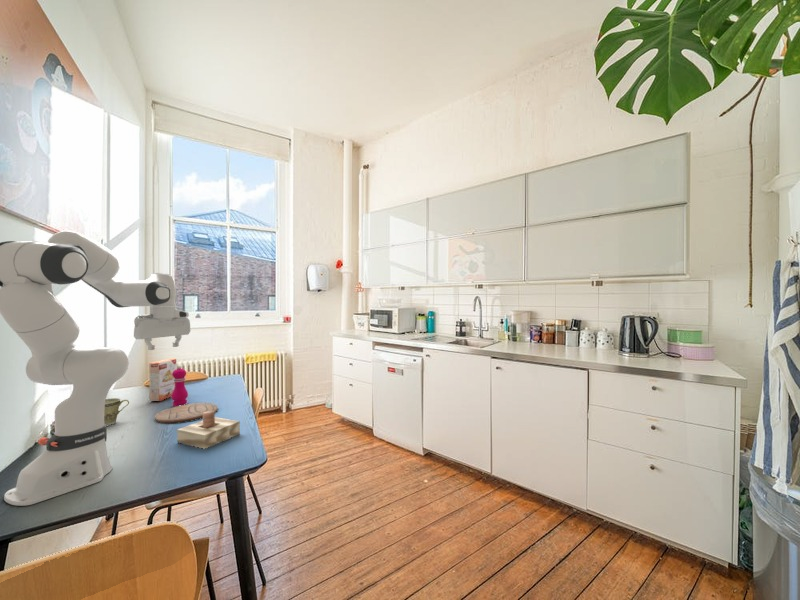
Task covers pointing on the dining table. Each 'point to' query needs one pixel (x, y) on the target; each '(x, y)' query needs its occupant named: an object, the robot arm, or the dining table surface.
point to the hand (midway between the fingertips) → (163, 348)
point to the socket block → (208, 433)
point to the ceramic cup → (112, 410)
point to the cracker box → (161, 379)
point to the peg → (208, 419)
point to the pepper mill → (179, 387)
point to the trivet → (184, 412)
